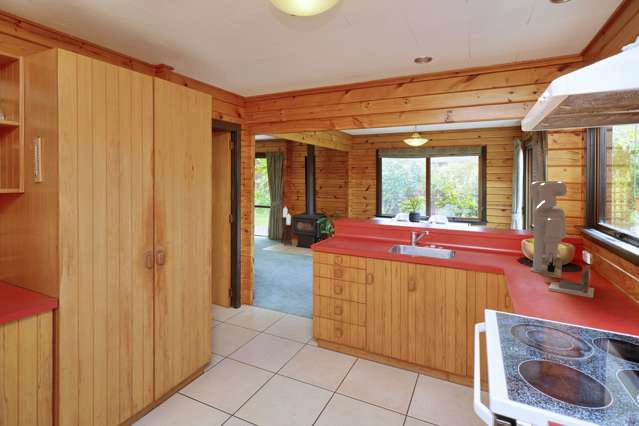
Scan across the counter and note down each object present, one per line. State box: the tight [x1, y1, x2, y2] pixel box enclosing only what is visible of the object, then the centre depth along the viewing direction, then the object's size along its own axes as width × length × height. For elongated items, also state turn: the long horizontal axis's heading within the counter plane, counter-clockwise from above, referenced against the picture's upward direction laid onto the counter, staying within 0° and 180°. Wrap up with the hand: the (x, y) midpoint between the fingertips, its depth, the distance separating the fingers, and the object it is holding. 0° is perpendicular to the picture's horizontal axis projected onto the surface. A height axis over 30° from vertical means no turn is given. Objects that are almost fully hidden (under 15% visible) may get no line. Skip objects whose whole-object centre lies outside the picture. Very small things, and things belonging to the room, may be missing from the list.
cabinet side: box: [579, 264, 591, 293], centre depth 168 cm, size 12×3×12 cm, turn 138°
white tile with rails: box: [548, 279, 595, 298], centre depth 172 cm, size 14×18×4 cm
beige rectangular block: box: [540, 256, 563, 279], centre depth 188 cm, size 3×9×11 cm, turn 48°
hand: (551, 270), depth 189 cm, fingers closed on beige rectangular block, 3 cm apart
